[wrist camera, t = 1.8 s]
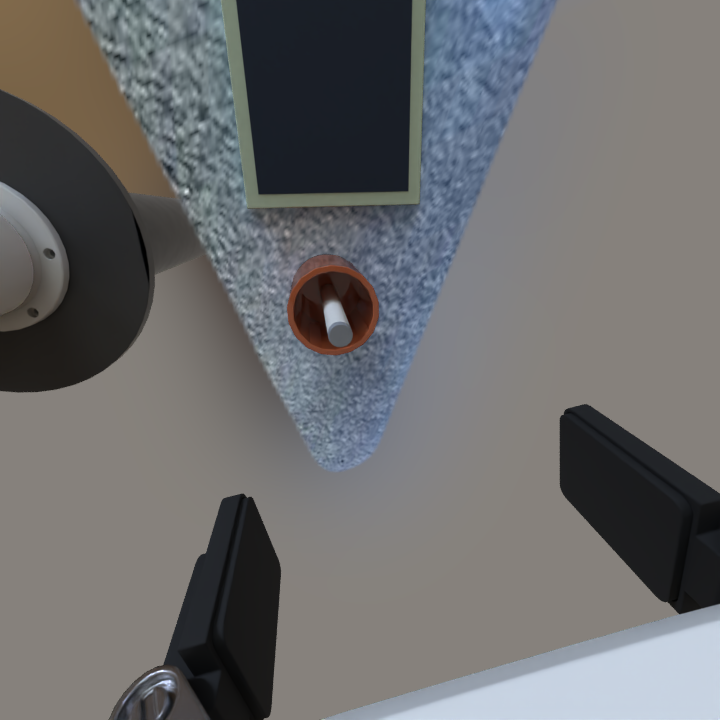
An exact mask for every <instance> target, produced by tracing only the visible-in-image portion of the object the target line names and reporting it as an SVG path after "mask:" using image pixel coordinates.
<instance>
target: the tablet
mask: <svg viewBox="0 0 720 720" xmlns="http://www.w3.org/2000/svg"><path fill="white" fill-rule="evenodd" d="M221 5H222V13H223V21H224V29H225V37H226V44H227V52H228V60H229V68H230V76H231V84H232V92H233V100H234V107H235V115H236V123H237V131H238V139H239V147H240V155H241V163H242V170H243V178H244V186H245V194H246V202H247V208H248V209H260V208H299V207H338V206H377V205H416V204H419V203H420V171H421V138H422V105H423V72H424V39H425V5H426V0H221Z"/></svg>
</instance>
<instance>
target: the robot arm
mask: <svg viewBox="0 0 720 720" xmlns="http://www.w3.org/2000/svg"><path fill="white" fill-rule="evenodd" d="M53 251H54V253H55V255H54V253H53ZM68 283H69V262H68V258H67V254H66V250H65V248H64V245H63V243H62V241H61V239H60V237H59V234H58V233H57V231H56V230H55V228H54V227H53V225H52V224H51V222H50V221H49V219H48V218H47V217H46V216H45V215H44V214H43V213H42V212H41V211H40V210H39V208H38V207H37V206H36V205H34V204H33V203H32V202H31V201H30V200H28V199H27V198H26V197H25V196H24V195H22V194H21V193H19V192H18V191H16V190H14V189H13V188H11V187H9V186H8V185H6V184H4V183H2V182H0V331H3V332H5V331H12V330H19V329H22V328H25V327H28V326H31V325H34V324H36V323H38V322H40V321H42V320H44V319H46V318H47V317H48V316H49V315H51V314H52V313H53V312H55V310H56V309H57V308H58V306H59V305H60V304H61V303H62V301H63V299H64V296H65V294H66V292H67V289H68ZM560 488H561V490H562V493H563V495H564V496H565V497H566V498H567V500H568V501H569V502H570V503H571V504H572V505H573V506H574V507H575V508H576V509H577V511H578V512H579V513H580V514H581V515H582V516H583V517H584V518H585V519H586V520H587V521H588V522H589V524H590V525H591V526H592V527H593V528H594V529H595V530H596V531H597V532H598V533H599V535H600V536H601V537H602V538H603V539H604V540H605V541H606V542H607V543H608V544H609V545H610V546H611V547H612V549H613V550H614V551H615V552H616V553H617V554H618V555H619V556H620V558H621V559H622V560H623V561H624V562H625V563H626V564H627V565H628V566H629V567H630V568H631V570H632V571H633V572H634V573H635V574H636V575H637V576H638V577H639V578H640V579H641V580H642V582H643V583H644V584H645V585H646V586H647V587H648V588H649V589H650V590H651V591H652V592H653V594H654V595H655V596H656V597H657V598H658V599H660V600H661V601H663V602H668V603H669V604H670V605H671V606H672V607H673V608H674V609H675V610H676V611H677V612H678V613H679V615H676V616H672V617H668V618H665V619H661V620H658V621H654V622H651V623H647V624H644V625H640V626H637V627H633V628H630V629H626V630H623V631H619V632H616V633H612V634H609V635H605V636H602V637H598V638H595V639H591V640H588V641H584V642H581V643H577V644H574V645H570V646H567V647H563V648H560V649H556V650H553V651H549V652H546V653H542V654H539V655H536V656H532V657H529V658H525V659H522V660H519V661H515V662H512V663H508V664H505V665H501V666H498V667H495V668H491V669H488V670H484V671H481V672H478V673H474V674H470V675H467V676H464V677H460V678H457V679H453V680H450V681H447V682H443V683H440V684H437V685H433V686H430V687H427V688H423V689H420V690H417V691H413V692H410V693H406V694H403V695H400V696H396V697H393V698H390V699H386V700H383V701H380V702H376V703H373V704H370V705H366V706H363V707H359V708H356V709H353V710H349V711H347V712H343V713H340V714H337V715H334V716H331V717H328V718H324V719H321V720H720V493H718V492H717V491H715V490H714V489H712V488H711V487H709V486H708V485H706V484H705V483H703V482H702V481H701V480H699V479H698V478H696V477H695V476H693V475H691V474H690V473H688V472H687V471H686V470H684V469H683V468H681V467H680V466H678V465H677V464H675V463H674V462H672V461H671V460H669V459H668V458H666V457H665V456H663V455H662V454H661V453H659V452H657V451H656V450H655V449H653V448H652V447H650V446H649V445H647V444H646V443H644V442H643V441H641V440H640V439H638V438H637V437H635V436H634V435H632V434H631V433H629V432H628V431H626V430H624V429H623V428H622V427H621V426H619V425H618V424H616V423H614V422H613V421H612V420H610V419H609V418H607V417H606V416H604V415H603V414H601V413H600V412H598V411H597V410H595V409H594V408H592V407H591V406H589V405H587V404H584V405H580V406H576V407H572V408H568V409H566V410H565V412H564V415H562V416H561V417H560ZM280 579H281V568H280V563H279V560H278V557H277V555H276V553H275V550H274V548H273V546H272V543H271V541H270V538H269V536H268V533H267V531H266V529H265V526H264V524H263V521H262V519H261V517H260V514H259V512H258V509H257V507H256V505H255V502H254V500H253V498H252V497H248V498H247V497H246V496H245V495H244V494H239V495H235V496H231V497H227V498H224V499H223V500H222V502H221V505H220V508H219V511H218V515H217V518H216V521H215V525H214V528H213V532H212V535H211V538H210V542H209V545H208V548H207V552H206V554H202V555H201V556H200V557H199V558H198V559H197V562H196V564H195V567H194V570H193V574H192V577H191V580H190V583H189V586H188V589H187V593H186V596H185V599H184V602H183V605H182V608H181V612H180V614H179V618H178V621H177V624H176V627H175V630H174V634H173V637H172V640H171V643H170V646H169V649H168V653H167V655H166V658H165V662H164V665H162V666H157V667H155V668H153V669H151V670H149V671H147V672H146V673H144V674H143V675H142V676H141V677H139V678H138V679H137V680H135V681H134V682H133V683H132V684H131V686H130V687H129V688H128V689H127V690H126V691H125V692H124V693H123V695H122V696H121V698H120V699H119V701H118V702H117V704H116V705H115V707H114V709H113V711H112V713H111V716H110V718H109V720H263V719H264V718H267V717H269V716H270V712H271V705H272V691H273V677H274V663H275V649H276V635H277V620H278V607H279V594H280Z"/></svg>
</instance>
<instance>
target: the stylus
mask: <svg viewBox="0 0 720 720" xmlns="http://www.w3.org/2000/svg"><path fill="white" fill-rule="evenodd" d="M320 294H321V300H322V305H323V311H324V316H325V322H326V327H327V333H328V338H329V341H330V342H331V344H332V345H334V346H336V347H344V346H347V345H348V344H349V343H350V342H351V340H352V338H353V333H352V330H351V327H350V325H349V322H348V320H347V317H346V315H345V312H344V310H343V307H342V305H341V302H340V299H339V297H338V294H337V292H336V289H335V287H334V286H332V285H330V284H326V285H324V286H322V288H321V290H320Z"/></svg>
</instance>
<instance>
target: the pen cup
mask: <svg viewBox="0 0 720 720" xmlns="http://www.w3.org/2000/svg"><path fill="white" fill-rule="evenodd" d="M326 284H330V285H332V286H334V287H335V289H336V292H337V294H338V297H339V299H340V302H341V305H342V307H343V310H344V312H345V315H346V317H347V320H348V322H349V325H350V327H351V330H352V333H353V338H352V340H351V342H350V343H349V344H348V345H347V346H344V347H336V346H334V345H332V344H331V342H330V341H329V338H328V333H327V327H326V322H325V316H324V311H323V305H322V300H321V294H320V290H321V288H322V286H324V285H326ZM287 312H288V322H289V325H290V327H291V329H292V331H293V333H294V335H295V336H296V338H297V339H298V340H299V341H300V342H301V343H302V344H304V345H305V346H306V347H307V348H309V349H311V350H313V351H315V352H318V353H320V354H327V355H340V354H344V353H348V352H351V351H353V350H355V349H356V348H358V347H359V346H361V345H363V344H364V343H365V342H366V341H367V339H368V338H369V337H370V336H371V334H372V333H373V331H374V329H375V326H376V324H377V321H378V317H379V302H378V299H377V296H376V294H375V291H374V288H373V287H372V285H371V284H370V283H369V282H368V281H367V280H366V279H365V277H364V276H363V275H362V274H361V273H360V272H359V271H358V270H357V269H356V268H355V267H354V265H353V264H352V263H350V262H349V261H347V260H346V259H344V258H342V257H340V256H337V255H331V254H323V255H318V256H315V257H312V258H310V259H308V260H307V261H306V262H304V263H303V264H302V265H301V266H300V267H299V269H298V270H297V272H296V273H295V275H294V278H293V282H292V286H291V290H290V295H289V300H288V305H287Z"/></svg>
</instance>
